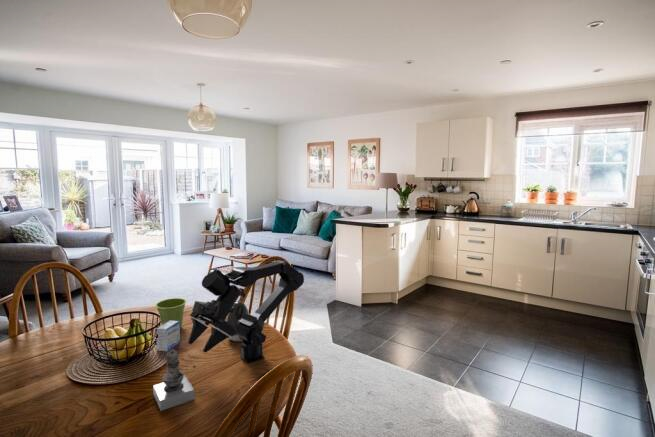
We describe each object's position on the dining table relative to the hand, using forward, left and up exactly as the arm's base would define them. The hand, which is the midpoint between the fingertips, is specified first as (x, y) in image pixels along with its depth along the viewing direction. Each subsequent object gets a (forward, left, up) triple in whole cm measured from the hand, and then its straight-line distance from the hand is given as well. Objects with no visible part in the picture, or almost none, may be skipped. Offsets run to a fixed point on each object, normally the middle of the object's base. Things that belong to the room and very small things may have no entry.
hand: (196, 347), depth 110 cm
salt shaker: (+8, +3, -9) cm, 12 cm away
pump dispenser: (-23, -22, -12) cm, 34 cm away
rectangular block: (+8, +3, -12) cm, 14 cm away
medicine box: (+1, -31, -12) cm, 33 cm away
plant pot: (-4, -47, -12) cm, 49 cm away
